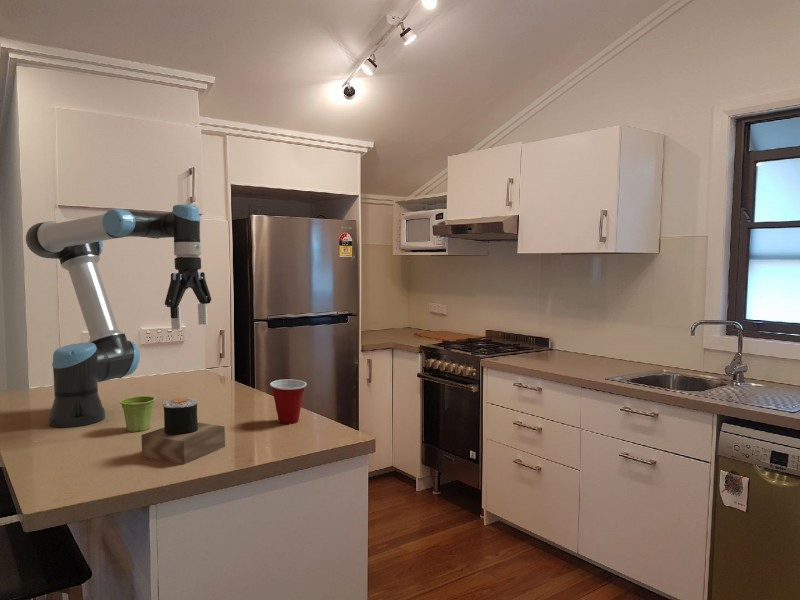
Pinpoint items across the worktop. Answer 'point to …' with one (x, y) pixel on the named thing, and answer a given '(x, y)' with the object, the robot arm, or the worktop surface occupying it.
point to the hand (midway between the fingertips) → (190, 326)
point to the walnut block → (183, 444)
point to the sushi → (180, 416)
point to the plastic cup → (288, 399)
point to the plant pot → (138, 412)
